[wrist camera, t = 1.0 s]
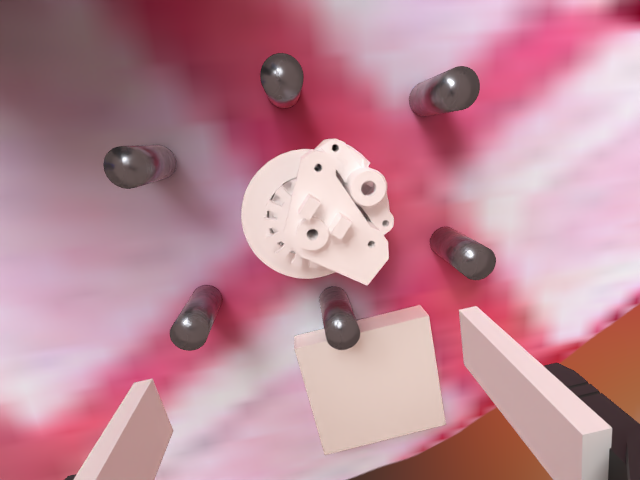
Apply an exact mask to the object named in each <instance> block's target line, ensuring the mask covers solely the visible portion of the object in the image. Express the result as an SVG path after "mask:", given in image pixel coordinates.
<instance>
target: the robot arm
mask: <svg viewBox="0 0 640 480" xmlns="http://www.w3.org/2000/svg"><path fill="white" fill-rule="evenodd" d="M459 316H460V327H461V338H462V348H463V359H464V365H465V366H466V368H467V369H468V370H469V371H470V373H471V374H472V375H473V377H474V378H475V379H476V380H477V382H478V383H479V384H480V386H481V387H482V388H483V390H484V391H485V392H486V393H487V395H488V396H489V397H490V399H491V400H492V401H493V402H494V404H495V405H496V406H497V408H498V409H499V410H500V411H501V413H502V414H503V415H504V417H505V418H506V419H507V420H508V422H509V423H510V424H511V426H512V427H513V428H514V429H515V431H516V432H517V433H518V435H519V436H520V437H521V439H522V440H523V441H524V442H525V444H526V445H527V446H528V448H529V449H530V450H531V452H532V453H533V454H534V455H535V457H536V458H537V459H538V461H539V462H540V463H541V464H542V466H543V467H544V468H545V469H546V471H547V472H548V473H549V475H550V476H551V477H552V478H553V480H640V424H639V423H637V422H636V421H635V420H634V419H633V418H632V417H630V416H629V415H628V414H627V413H625V412H624V411H623V410H622V409H621V408H619V407H618V406H617V405H616V404H614V403H613V402H612V401H611V400H609V399H608V398H607V397H606V396H605V395H603V394H602V393H601V394H600V392H599V391H598V390H597V389H596V388H595V387H593V386H592V385H591V384H588V382H587V381H586V380H585V379H584V378H583V377H581V376H580V375H579V374H578V373H576V372H575V371H574V370H571V369H569V368H567V367H565V366H563V365H561V364H559V363H554V364H549V365H545V366H543V365H542V364H540V363H539V362H538V361H537V360H536V359H535V358H534V357H533V356H532V355H530V354H529V353H528V352H527V351H526V350H525V349H524V348H523V347H521V346H520V345H519V344H518V343H517V342H516V341H515V340H514V339H513V338H511V337H510V336H509V335H508V334H507V333H506V332H505V331H504V330H503V329H501V328H500V327H499V326H498V325H497V324H496V323H495V322H494V321H493V320H491V319H490V318H489V317H488V316H487V315H486V314H485V313H484V312H482V311H481V310H480V309H479V308H478V307H477V306H474V307H470V308H465V309H461V310H459ZM172 433H173V429H172V426H171V424H170V421H169V419H168V416H167V414H166V411H165V409H164V406H163V404H162V401H161V399H160V396H159V394H158V391H157V389H156V386H155V384H154V381H153V379H148V380H144V381H139V382H135V383H134V384H133V385H132V387H131V388H130V390H129V392H128V393H127V395H126V396H125V398H124V400H123V401H122V403H121V404H120V406H119V408H118V409H117V411H116V412H115V414H114V416H113V417H112V419H111V420H110V422H109V424H108V425H107V427H106V428H105V430H104V432H103V433H102V435H101V436H100V438H99V439H98V441H97V443H96V444H95V446H94V447H93V449H92V451H91V452H90V454H89V455H88V457H87V459H86V460H85V462H84V463H83V465H82V467H81V468H80V470H79V471H78V473H77V474H75V475H71V476H68V477H67V478H66V479H65V480H154V479H155V476H156V474H157V471H158V469H159V466H160V464H161V461H162V458H163V456H164V453H165V451H166V448H167V446H168V443H169V440H170V438H171V435H172Z"/></svg>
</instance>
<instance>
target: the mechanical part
mask: <svg viewBox="0 0 640 480" xmlns="http://www.w3.org/2000/svg"><path fill="white" fill-rule="evenodd" d="M369 164H370V162H369V161H368V160H367V159H366V158H365V157H364V156H363V155H362V154H361V153H360V152H358V151H357V150H355V149H354V148H353V147H351V146H349V145H347V144H345V142H343V141H340V140H338V139H325V140H323V141H322V142H321V143H320V144H319V145H318V146H317V147H316V148H315V149H299V150H292V151H289V152H286V153H283V154H280V155H278V156H277V157H275V158H273V159H272V160H270V161H268V162H267V163H266V164H265V165H264V166H263V167H262V168H261V169H260V170H259V171H258V172H257V173H256V174H255V176H254V177H253V178H252V180H251V181H250V183H249V185H248V187H247V190H246V192H245V194H244V198H243V203H242V210H241V221H242V226H243V231H244V234H245V237H246V239H247V242H248V244H249V246H250V247H251V249H252V250H253V252H254V253H255V255H256V256H257V257H258V258H259V259H260V260H261V261H262V262H263V263H264V264H266V265H267V266H268V267H270V268H271V269H273V270H274V271H277V272H279V273H281V274H284V275H286V276H290V277H295V278H304V279H312V278H319V277H324V276H327V275H330V274H333V273H335V272H337V273H339V274H342V275H344V276H346V277H348V278H351V279H353V280H355V281H358V282H360V283H362V284H364V285H368V284H369V283H370V282H371V280H372V279H373V278H374V277H375V275H376V274H377V273H378V272H379V270H380V269H381V268H382V267H383V265H384V264H385V263H386V262H387V260H388V259H389V251H388V241H387V240H386V238H385V237H384V235H385V234H386V233H387V232H389V231H390V230H391V229H392V227H393V224H394V217H393V215H392V214H391V212H390V211H389V201H388V197H387V182H386V179H385V177H384V176H383V175H382V174H381V173H380V172H379V171H377V170H375V169H372V168H369Z"/></svg>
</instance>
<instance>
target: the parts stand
mask: <svg viewBox="0 0 640 480" xmlns="http://www.w3.org/2000/svg"><path fill="white" fill-rule="evenodd" d="M356 321H357V324H358V326H359V329H360V338H359V340H358V342H357V343H356V344H355V345H354V346H353V347H351V348H349V349H346V350H338V349H335V348H333V347H331V346H330V345H329V344H328V342H327V340H326V335H325V329H320V330H316V331H312V332H308V333H304V334H300V335H296V336H294V347H295V352H296V356H297V359H298V363H299V366H300V370H301V373H302V377H303V380H304V384H305V387H306V391H307V394H308V398H309V401H310V405H311V408H312V412H313V416H314V419H315V423H316V426H317V430H318V433H319V437H320V440H321V444H322V447H323V451H324V454H325V455H328V454H332V453H336V452H340V451H344V450H348V449H352V448H356V447H360V446H364V445H368V444H372V443H375V442H379V441H383V440H387V439H391V438H395V437H399V436H403V435H407V434H411V433H415V432H419V431H423V430H427V429H431V428H435V427H439V426H443V425H446V422H445V416H444V409H443V403H442V396H441V390H440V383H439V377H438V371H437V364H436V358H435V351H434V345H433V339H432V332H431V326H430V319H429V315H428V314H427V313H426V311H425V310H424V309H423V308H422V306H421V305H417V306H413V307H409V308H405V309H401V310H397V311H393V312H389V313H385V314H381V315H377V316H373V317H369V318H364V319H360V320H356Z"/></svg>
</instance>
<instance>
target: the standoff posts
mask: <svg viewBox="0 0 640 480" xmlns="http://www.w3.org/2000/svg"><path fill="white" fill-rule="evenodd" d="M260 77H261V83H262V86H263V88H264V90H265V92H266V94H267V96H268V98H269V100H270V101H271V102H272V103H273V104H274V105H275V106H277V107H280V108H289V107H291V106H293V105H294V104H295V103H296V102H297V101H298V99H299V97H300V93H301V89H302V84H303V71H302V68H301V66H300V64H299V62H298V61H297V60H296V59H295V58H294V57H292V56H290V55H288V54H284V53H278V54H274V55H272V56H270V57H269V58H268V59H267V60H266V61H265V62H264V64H263V66H262V68H261V73H260ZM479 90H480V83H479V79H478V76H477V75H476V73H475V72H474V71H473V70H472V69H470V68H468V67H464V66H459V67H455V68H453V69H451V70H448V71H446V72H444V73H442V74H439V75H437V76H435V77H432V78H430V79H428V80H426V81H423V82H421V83H419V84H417V85H416V86H415V87H414V88H413V89H412V91H411V93H410V97H409V103H410V107H411V109H412V110H413V112H414V113H415V114H417V115H419V116H430V115H436V114H441V113H447V112H453V111H458V110H463V109H466V108H468V107H469V106H471V105H472V104H473V103H474V102H475V100H476V98H477V96H478V94H479ZM176 165H177V163H176V158H175V156H174V154H173V153H172V151H171V150H169V149H168V148H167V147H165V146H161V145H146V146H120V147H116V148H113V149H112V150H110V151H109V152H108V153H107V155H106V156H105V159H104V171H105V173H106V175H107V177H108V178H109V180H110V181H111V182H112V183H114V184H115V185H117V186H119V187H121V188H126V189H131V188H135V187H138V186H142V185H145V184H148V183H151V182H155V181H158V180H161V179H165V178H168V177H170V176H171V175H172V174H173V173H174V171H175V169H176ZM430 246H431V249H432V250H433V251H434V252H435V253H436V254H437V255H439V256H440V257H441V258H443V259H444V260H445V261H447V262H448V263H449V264H450V265H452V266H453V267H454V268H456V269H457V270H458V271H459V272H461V273H462V274H463V275H465V276H466V277H467V278H469V279H472V280H480V279H483V278H485V277H487V276H488V275H489V274H490V273H491V272H492V271H493V269H494V267H495V263H496V258H495V255H494V253H493V251H492V250H490V249H489V248H487V247H485V246H483V245H482V244H480V243H478V242H476V241H474V240H472V239H471V238H469V237H467V236H465V235H463V234H461V233H460V232H458V231H456V230H454V229H452V228H450V227H441V228H439V229H437V230H436V231H435V232H434V233H433V234H432V236H431V238H430ZM319 302H320V308H321V313H322V319H323V324H324V329H325V335H326V340H327V342H328V344H329V345H330V346H331V347H333V348H335V349H338V350H346V349H349V348H351V347H353V346H354V345H355V344H356V343H357V342H358V340H359V338H360V329H359V326H358V324H357V321H356V318H355V316H354V313H353V310H352V307H351V305H350V302H349V299H348V297H347V294H346V292H345V291H344V290H343V289H341V288H339V287H329V288H327V289H325V290H324V291H323V292H322V293H321V295H320V299H319ZM221 303H222V295H221V293H220V291H219V290H218V289H217V288H215V287H213V286H210V285H203V286H200V287H198V288H197V289H196V290H195V291H194V292H193V294H192V295H191V297H190V299H189V300H188V302H187V303H186V305H185V307H184V308H183V310H182V311H181V313H180V314H179V316H178V318H177V319H176V321H175V322H174V324H173V326H172V327H171V330H170V338H171V340H172V342H173V343H174V344H175V345H176V346H177V347H178V348H180V349H183V350H189V351H190V350H196V349H198V348H200V347H201V346H203V345H204V343H205V342H206V339H207V337H208V335H209V332H210V330H211V327H212V325H213V323H214V320H215V318H216V315H217V313H218V311H219V308H220V306H221Z"/></svg>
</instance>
